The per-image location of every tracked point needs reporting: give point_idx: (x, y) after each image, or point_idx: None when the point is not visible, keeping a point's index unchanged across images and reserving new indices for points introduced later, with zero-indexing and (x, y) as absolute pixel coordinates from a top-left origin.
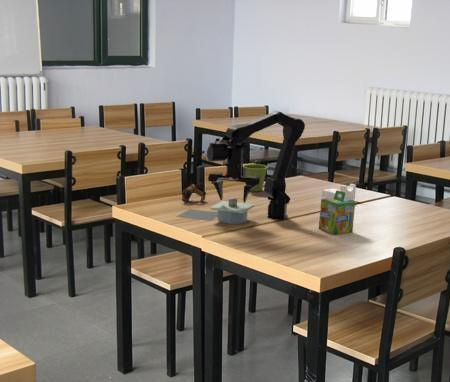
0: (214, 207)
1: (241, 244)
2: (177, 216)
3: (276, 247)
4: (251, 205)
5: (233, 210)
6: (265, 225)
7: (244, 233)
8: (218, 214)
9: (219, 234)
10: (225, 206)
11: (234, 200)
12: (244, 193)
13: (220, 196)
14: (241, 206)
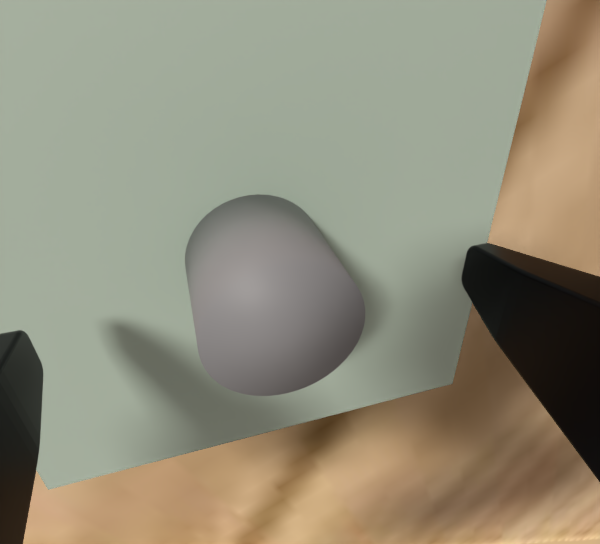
0: (93, 464)
1: (441, 510)
2: None
3: (573, 455)
4: (521, 43)
5: (345, 407)
6: (546, 145)
7: (424, 400)
8: None
9: (302, 489)
10: (183, 350)
11: (329, 355)
12: (596, 455)
13: (24, 460)
14: (385, 210)
